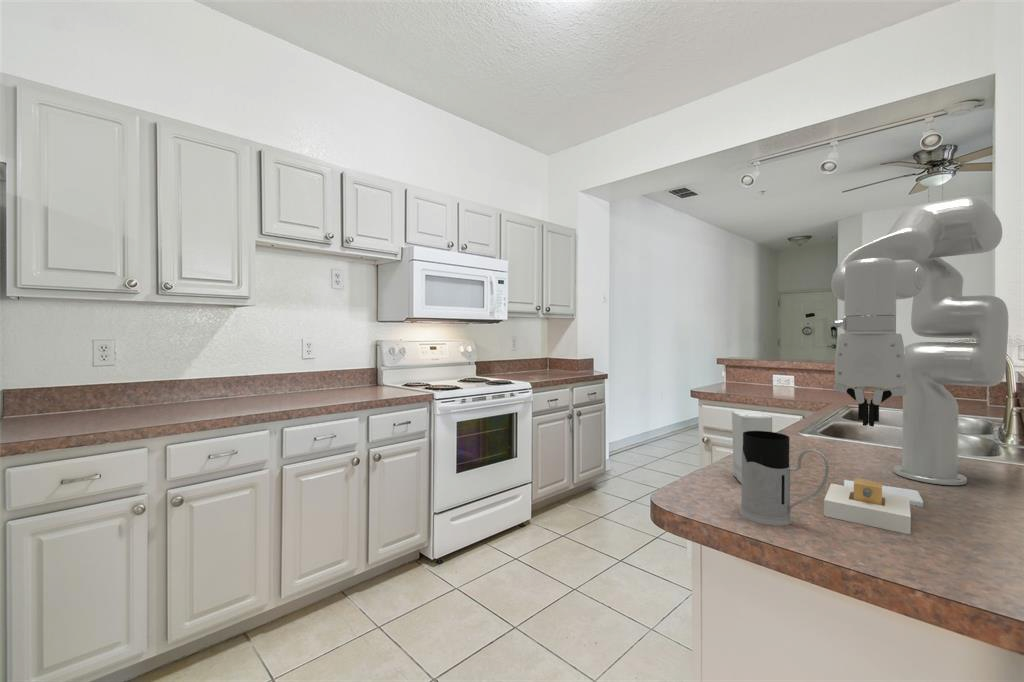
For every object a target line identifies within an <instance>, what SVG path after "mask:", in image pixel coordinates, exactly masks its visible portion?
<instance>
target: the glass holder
mask: <svg viewBox="0 0 1024 682" xmlns="http://www.w3.org/2000/svg"><path fill="white" fill-rule="evenodd" d="M790 438H791V437H790V436H788V435H786V434H784V433H779V432H774V431H772V432H767V431H746V432H743V446H742V484H741V500H740V501H741V505H740V507H739V510H738V513H739V515H740V516H741V517H743V518H744V519H746V520H748V521H751V522H753V523H757V524H760V525H766V526H773V527H776V526H777V527H782V526H788V525H791V524H793V522H794V519H793V517H792V515H791V513H792V509H793V508H794V507H796V506H797V505H799V504H801V503H804V502H806V501H807V500H809V499H812V498H813V497H815V496H817V495H818V494H819V493H820V492H821V490H822V489H823V488H824V486H825V485H826V483H827V480H828V476H829V470H830V469H829V466H830V465H829V460H828V459H827V456H826V455H824V454H823V453H822V452H821V451H818V450H816V449H806V450H803V451H802V452H801V453H800V455H799V456H798V460H797V467H796V468H791V464H790ZM809 452H812V453H815V454H818V455H819V456H820V457H822V459H823V461H824V463H825V471H824V477H823V480H822V483H820V485H819V486H818V488H817V489H816V490H815V491H814V492H813V493H812V494H810V495H809V496H807V497H806V496H805V498H802V499H800V500H798V501H796V502H794V503H792V504H791V472H797V471H800V470H801V466H802V460H803V457H804V455H806V453H809Z"/></svg>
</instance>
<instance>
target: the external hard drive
mask: <svg viewBox="0 0 1024 682" xmlns="http://www.w3.org/2000/svg"><path fill="white" fill-rule="evenodd" d="M854 481H855V480H850V479H849V480H848V479H843V486H849V487H854ZM882 492H883V493H888V494H894V495H900V496H906V497H909V502H910V504H911V505H910V506H915V505H917V506H916V507H921V508H923V507H924V500H923V498H922V497H921V495H920V492H919V490H915V489H909V488H903V487H895V486H888V485H884V484H882Z"/></svg>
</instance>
